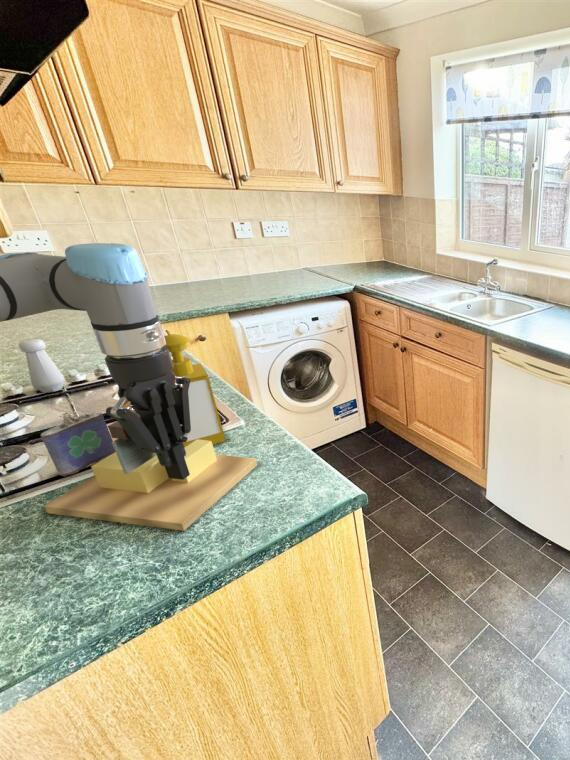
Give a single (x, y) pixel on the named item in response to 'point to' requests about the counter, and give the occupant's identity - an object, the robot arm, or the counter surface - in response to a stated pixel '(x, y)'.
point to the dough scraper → (128, 448)
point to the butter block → (129, 475)
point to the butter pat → (198, 458)
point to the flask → (78, 442)
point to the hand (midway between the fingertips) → (179, 476)
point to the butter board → (155, 497)
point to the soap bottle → (196, 394)
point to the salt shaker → (41, 366)
